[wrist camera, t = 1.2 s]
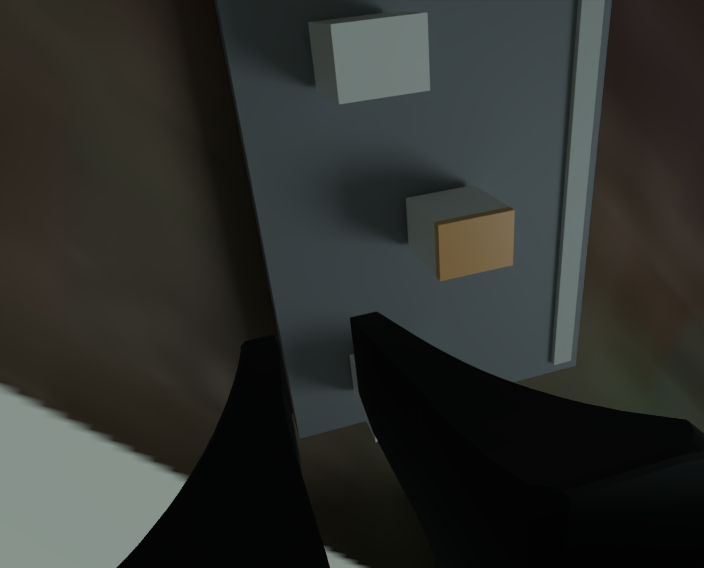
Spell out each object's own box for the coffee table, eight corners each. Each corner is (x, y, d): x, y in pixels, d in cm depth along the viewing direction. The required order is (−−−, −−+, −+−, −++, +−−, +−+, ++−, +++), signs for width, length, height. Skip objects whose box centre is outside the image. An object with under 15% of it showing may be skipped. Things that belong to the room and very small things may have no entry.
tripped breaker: (473, 234, 20) (512, 265, 17) (408, 248, 19) (439, 281, 17) (473, 185, 19) (514, 210, 16) (405, 197, 18) (438, 225, 16)
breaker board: (555, 347, 25) (578, 368, 24) (293, 414, 23) (300, 441, 22) (587, -71, 18) (624, -78, 16) (207, -32, 16) (210, -37, 14)
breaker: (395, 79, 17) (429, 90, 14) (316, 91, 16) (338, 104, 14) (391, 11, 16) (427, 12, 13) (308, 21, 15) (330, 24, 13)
